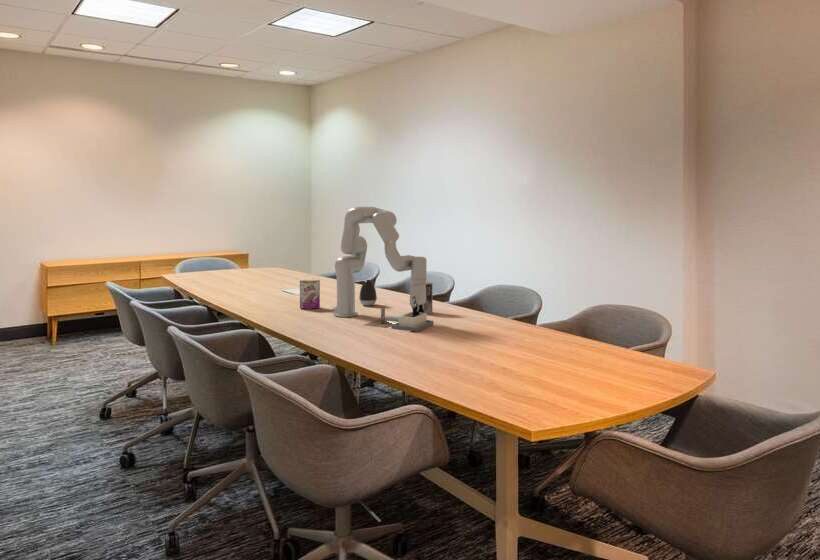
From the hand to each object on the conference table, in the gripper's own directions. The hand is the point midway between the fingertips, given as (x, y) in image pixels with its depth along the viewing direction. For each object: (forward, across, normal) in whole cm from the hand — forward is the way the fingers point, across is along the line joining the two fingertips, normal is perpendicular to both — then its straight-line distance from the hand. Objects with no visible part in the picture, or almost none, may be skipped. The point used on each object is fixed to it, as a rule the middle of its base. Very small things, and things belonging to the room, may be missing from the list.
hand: (418, 317), depth 302 cm
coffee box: (+4, -31, -11) cm, 33 cm away
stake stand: (+4, +7, -16) cm, 18 cm away
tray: (+4, +6, 0) cm, 7 cm away
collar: (+3, +6, 0) cm, 7 cm away
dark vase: (+4, -37, -50) cm, 62 cm away
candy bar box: (+4, -13, -74) cm, 75 cm away
